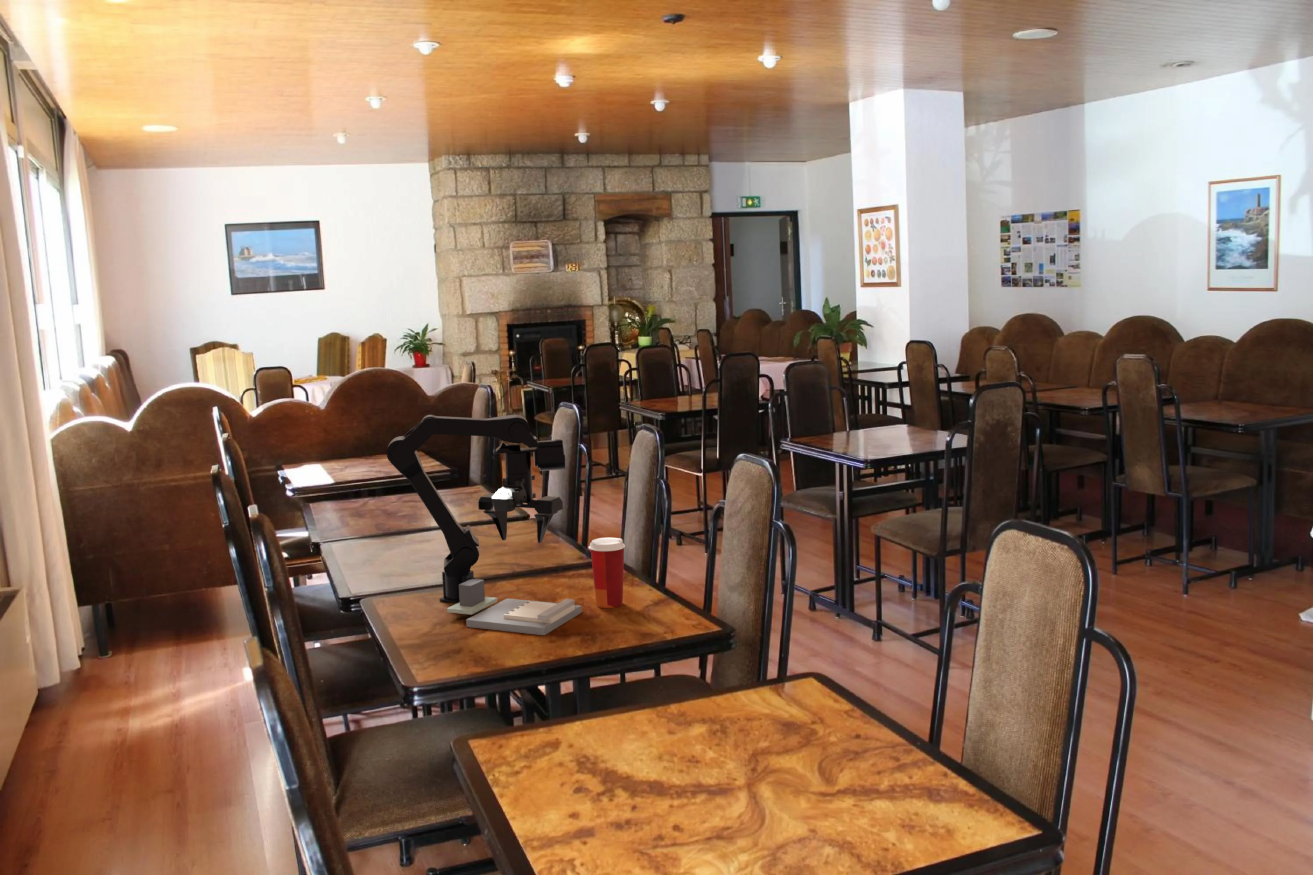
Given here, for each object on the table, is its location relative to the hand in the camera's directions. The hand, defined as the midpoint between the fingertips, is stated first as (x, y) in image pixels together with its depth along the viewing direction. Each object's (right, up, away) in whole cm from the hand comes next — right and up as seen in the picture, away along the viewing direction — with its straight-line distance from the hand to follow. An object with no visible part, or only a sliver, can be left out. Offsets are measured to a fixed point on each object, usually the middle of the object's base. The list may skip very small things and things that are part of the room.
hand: (521, 541), depth 246 cm
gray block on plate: (-9, -13, -13) cm, 20 cm away
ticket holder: (+3, -14, -18) cm, 23 cm away
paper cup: (+20, -13, -9) cm, 25 cm away
